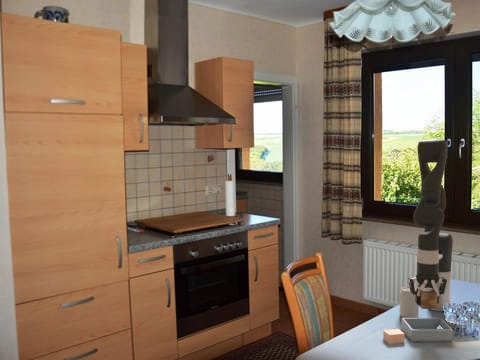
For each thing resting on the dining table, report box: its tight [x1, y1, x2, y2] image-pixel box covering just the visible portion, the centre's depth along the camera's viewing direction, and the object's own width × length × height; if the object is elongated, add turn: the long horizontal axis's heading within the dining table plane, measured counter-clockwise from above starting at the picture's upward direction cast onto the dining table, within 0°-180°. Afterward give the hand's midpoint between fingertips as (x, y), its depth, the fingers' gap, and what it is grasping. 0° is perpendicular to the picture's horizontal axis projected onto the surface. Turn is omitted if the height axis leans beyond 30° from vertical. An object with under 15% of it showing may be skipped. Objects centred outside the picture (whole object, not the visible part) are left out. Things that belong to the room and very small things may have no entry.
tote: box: [401, 317, 454, 343], centre depth 182 cm, size 12×15×4 cm
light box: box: [382, 328, 406, 345], centre depth 178 cm, size 4×6×4 cm
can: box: [399, 286, 420, 318], centre depth 201 cm, size 8×8×12 cm
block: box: [419, 288, 437, 310], centre depth 181 cm, size 6×6×6 cm
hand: (426, 304), depth 181 cm, fingers closed on block, 5 cm apart
